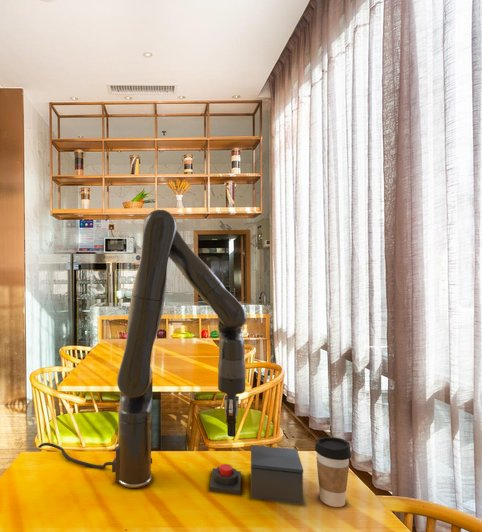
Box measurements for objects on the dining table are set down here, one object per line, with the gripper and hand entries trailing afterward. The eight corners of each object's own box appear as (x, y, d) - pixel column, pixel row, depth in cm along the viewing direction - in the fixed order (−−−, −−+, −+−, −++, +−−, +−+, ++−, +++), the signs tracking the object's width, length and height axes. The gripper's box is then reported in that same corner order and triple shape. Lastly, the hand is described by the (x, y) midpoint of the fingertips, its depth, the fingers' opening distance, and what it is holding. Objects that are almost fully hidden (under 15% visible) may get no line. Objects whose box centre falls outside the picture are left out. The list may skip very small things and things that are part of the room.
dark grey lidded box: (302, 504, 100) (302, 473, 100) (251, 498, 102) (251, 468, 102) (296, 480, 111) (297, 452, 111) (250, 475, 114) (250, 447, 114)
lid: (303, 473, 99) (303, 470, 99) (251, 467, 101) (251, 464, 101) (297, 452, 111) (297, 449, 111) (250, 447, 114) (250, 444, 114)
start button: (218, 476, 108) (218, 469, 108) (219, 469, 112) (219, 463, 112) (232, 477, 107) (232, 471, 107) (232, 470, 111) (232, 464, 111)
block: (209, 491, 105) (209, 479, 105) (212, 472, 115) (212, 461, 115) (240, 495, 104) (240, 483, 104) (241, 475, 113) (241, 464, 113)
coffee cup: (354, 512, 97) (355, 450, 97) (317, 507, 98) (318, 447, 98) (345, 493, 105) (346, 436, 105) (311, 489, 107) (312, 433, 107)
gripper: (219, 366, 118) (219, 425, 118) (216, 379, 105) (216, 444, 105) (245, 368, 116) (245, 427, 117) (245, 381, 104) (245, 447, 104)
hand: (231, 435), depth 111 cm, fingers closed
